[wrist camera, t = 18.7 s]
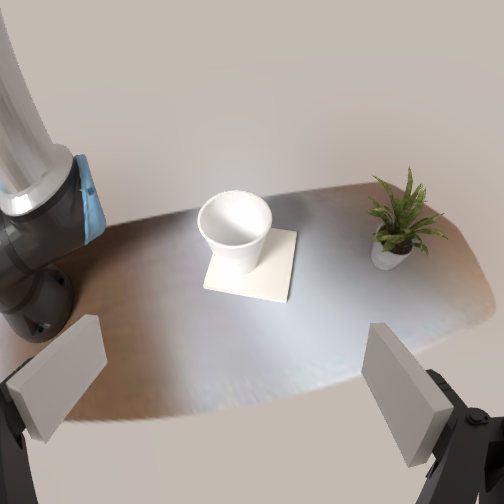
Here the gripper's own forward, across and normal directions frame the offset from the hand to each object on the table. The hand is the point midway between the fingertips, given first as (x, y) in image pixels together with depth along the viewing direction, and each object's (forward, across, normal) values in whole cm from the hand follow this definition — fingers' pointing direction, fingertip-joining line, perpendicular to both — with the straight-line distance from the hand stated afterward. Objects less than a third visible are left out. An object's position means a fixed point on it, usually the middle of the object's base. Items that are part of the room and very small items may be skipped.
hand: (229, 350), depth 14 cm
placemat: (+37, 0, -5) cm, 37 cm away
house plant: (+39, +23, -3) cm, 45 cm away
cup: (+36, -2, -5) cm, 37 cm away
